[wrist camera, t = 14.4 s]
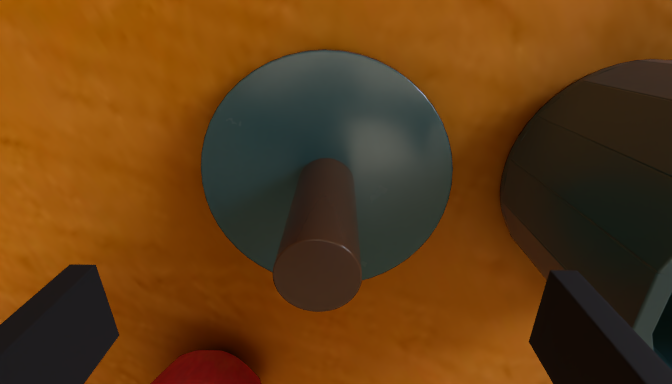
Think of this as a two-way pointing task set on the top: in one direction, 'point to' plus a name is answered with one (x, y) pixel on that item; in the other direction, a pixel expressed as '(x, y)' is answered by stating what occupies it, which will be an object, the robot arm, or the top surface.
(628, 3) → the top surface
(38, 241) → the top surface
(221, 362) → the apple
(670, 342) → the pot
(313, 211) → the lid
